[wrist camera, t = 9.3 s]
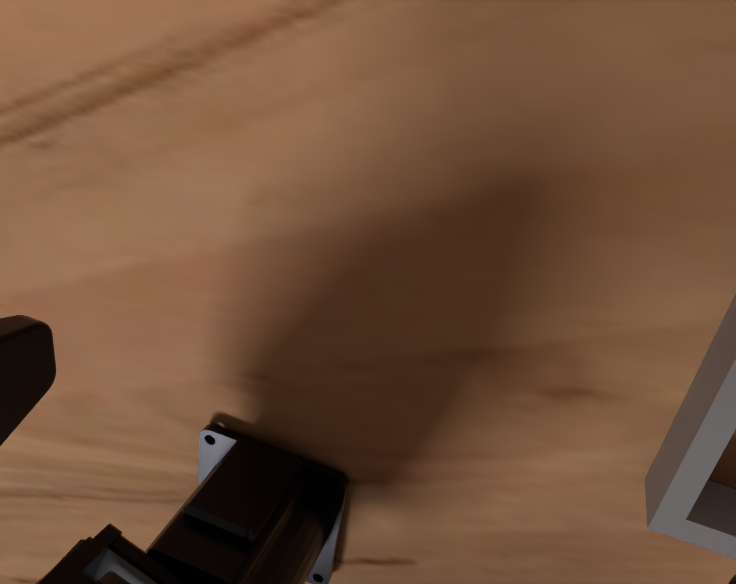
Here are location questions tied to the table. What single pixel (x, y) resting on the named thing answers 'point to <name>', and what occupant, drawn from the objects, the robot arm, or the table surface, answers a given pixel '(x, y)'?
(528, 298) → the table surface
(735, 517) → the gray rectangular frame
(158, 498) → the table surface
